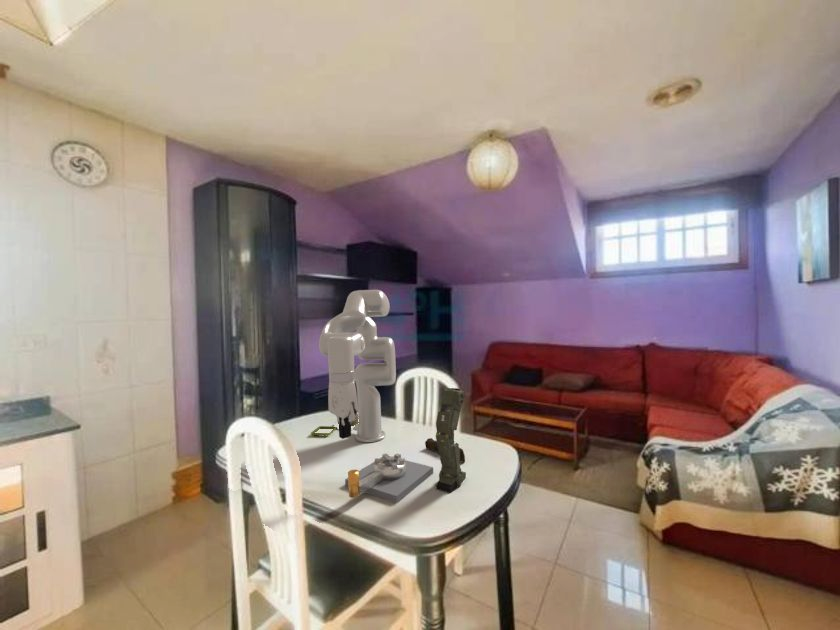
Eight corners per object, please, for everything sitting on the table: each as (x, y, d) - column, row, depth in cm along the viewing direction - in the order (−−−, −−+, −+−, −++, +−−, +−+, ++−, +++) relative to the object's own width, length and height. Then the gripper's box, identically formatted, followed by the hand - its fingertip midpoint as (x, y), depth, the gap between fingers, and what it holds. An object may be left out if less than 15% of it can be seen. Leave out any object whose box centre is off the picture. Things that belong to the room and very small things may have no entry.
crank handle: (388, 462, 119) (387, 443, 119) (412, 469, 113) (411, 448, 113) (338, 493, 100) (337, 470, 100) (363, 503, 94) (362, 478, 94)
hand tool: (424, 449, 135) (424, 437, 135) (432, 446, 137) (432, 435, 137) (459, 466, 120) (458, 452, 120) (467, 462, 122) (466, 449, 122)
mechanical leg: (447, 497, 99) (455, 388, 104) (425, 490, 102) (434, 386, 108) (467, 486, 110) (473, 389, 115) (447, 481, 114) (454, 387, 119)
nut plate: (345, 485, 109) (345, 478, 109) (385, 460, 126) (385, 454, 126) (396, 503, 98) (396, 495, 98) (433, 473, 115) (433, 466, 115)
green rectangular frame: (337, 431, 159) (337, 426, 159) (329, 438, 151) (329, 433, 151) (319, 430, 161) (319, 426, 161) (310, 437, 152) (310, 432, 152)
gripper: (319, 375, 108) (322, 433, 109) (343, 383, 96) (347, 448, 98) (340, 371, 113) (343, 427, 114) (366, 378, 101) (369, 440, 103)
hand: (345, 436), depth 106 cm, fingers closed
